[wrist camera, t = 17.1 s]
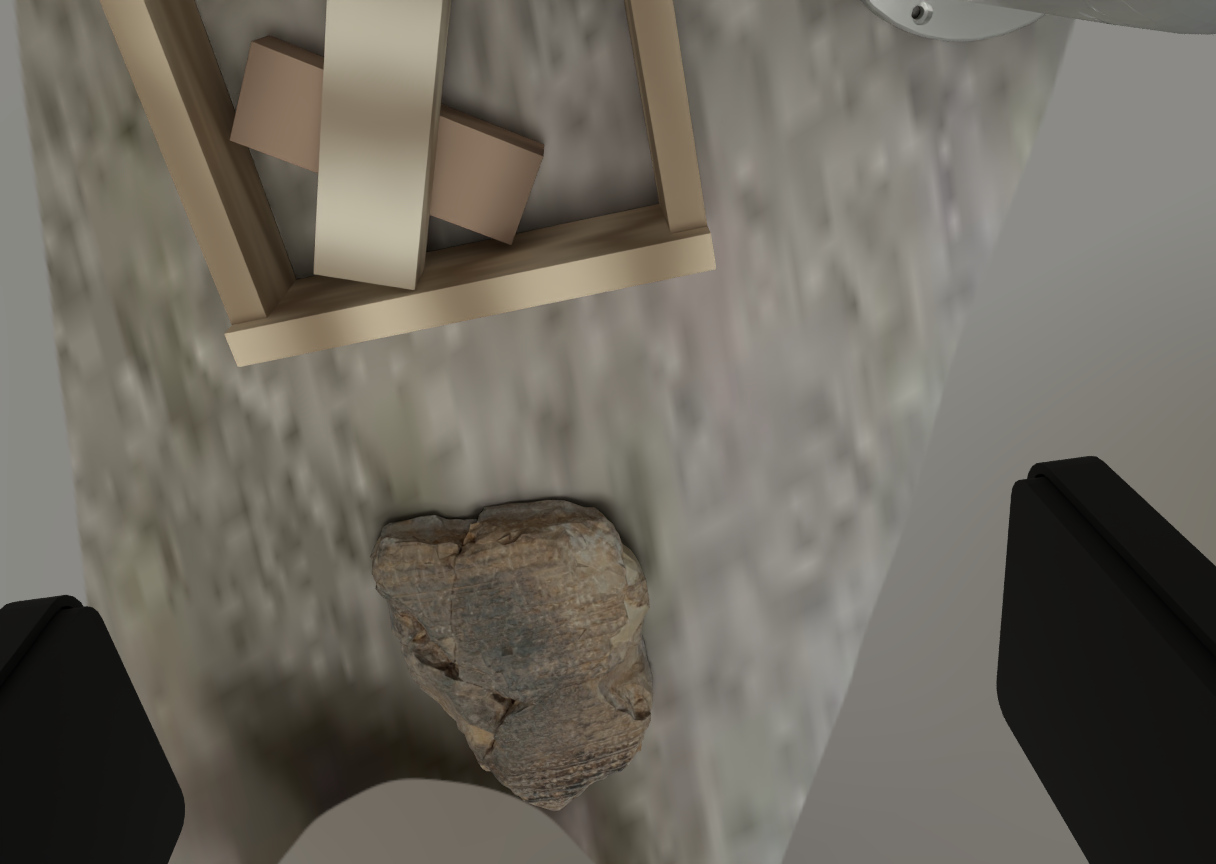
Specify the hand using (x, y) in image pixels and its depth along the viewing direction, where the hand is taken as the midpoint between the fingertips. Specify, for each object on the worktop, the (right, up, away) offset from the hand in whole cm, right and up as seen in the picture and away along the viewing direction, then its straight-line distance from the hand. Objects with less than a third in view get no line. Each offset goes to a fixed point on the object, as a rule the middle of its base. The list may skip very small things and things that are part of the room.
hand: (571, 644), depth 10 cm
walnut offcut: (-9, +15, +32) cm, 36 cm away
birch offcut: (-8, +15, +29) cm, 33 cm away
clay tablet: (-4, -10, +45) cm, 46 cm away
